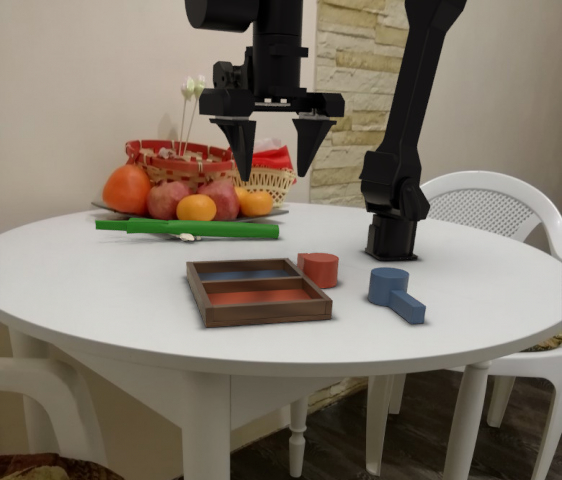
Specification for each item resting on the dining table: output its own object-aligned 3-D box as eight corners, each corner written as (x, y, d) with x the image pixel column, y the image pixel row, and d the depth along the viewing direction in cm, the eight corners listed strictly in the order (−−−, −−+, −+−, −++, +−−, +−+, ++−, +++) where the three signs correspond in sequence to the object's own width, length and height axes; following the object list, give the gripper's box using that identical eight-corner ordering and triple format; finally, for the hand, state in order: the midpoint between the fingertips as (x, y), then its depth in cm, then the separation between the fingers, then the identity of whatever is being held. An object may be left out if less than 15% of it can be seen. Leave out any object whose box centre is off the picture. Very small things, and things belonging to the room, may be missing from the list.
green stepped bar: (274, 240, 97) (97, 234, 90) (275, 221, 95) (95, 213, 88) (280, 247, 93) (95, 241, 86) (281, 227, 91) (93, 220, 84)
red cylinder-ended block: (341, 287, 71) (344, 261, 69) (308, 289, 70) (309, 262, 68) (316, 265, 80) (318, 242, 78) (286, 267, 79) (287, 243, 77)
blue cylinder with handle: (362, 295, 68) (364, 267, 67) (395, 293, 69) (398, 266, 68) (398, 325, 60) (402, 294, 58) (436, 322, 61) (441, 292, 59)
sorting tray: (287, 273, 76) (288, 257, 75) (331, 319, 60) (333, 300, 59) (186, 277, 72) (186, 261, 71) (205, 327, 57) (205, 307, 56)
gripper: (293, 46, 74) (289, 168, 81) (170, 33, 63) (178, 176, 70) (352, 42, 66) (342, 177, 73) (225, 27, 55) (227, 187, 62)
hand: (274, 179), depth 70 cm, fingers open, 9 cm apart
